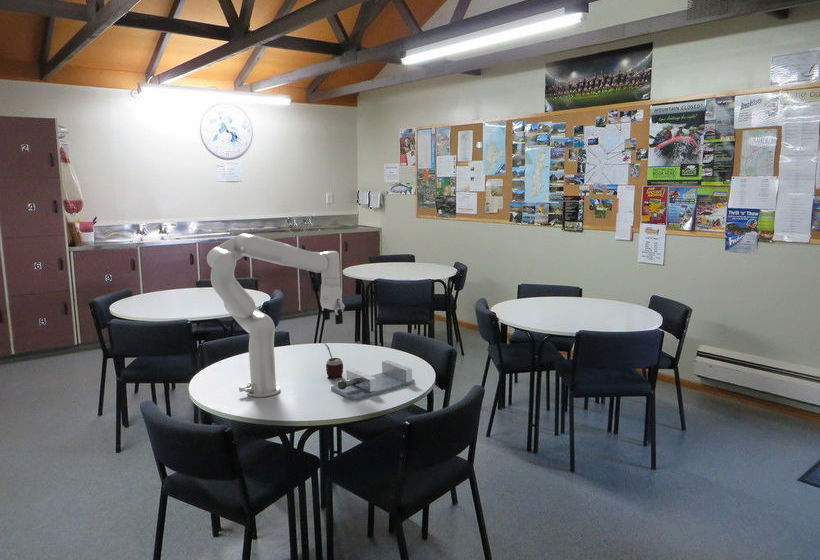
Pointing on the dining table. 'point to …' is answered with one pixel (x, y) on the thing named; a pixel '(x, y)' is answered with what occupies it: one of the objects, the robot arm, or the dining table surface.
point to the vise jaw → (358, 380)
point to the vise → (380, 382)
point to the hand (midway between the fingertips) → (332, 321)
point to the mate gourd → (334, 367)
